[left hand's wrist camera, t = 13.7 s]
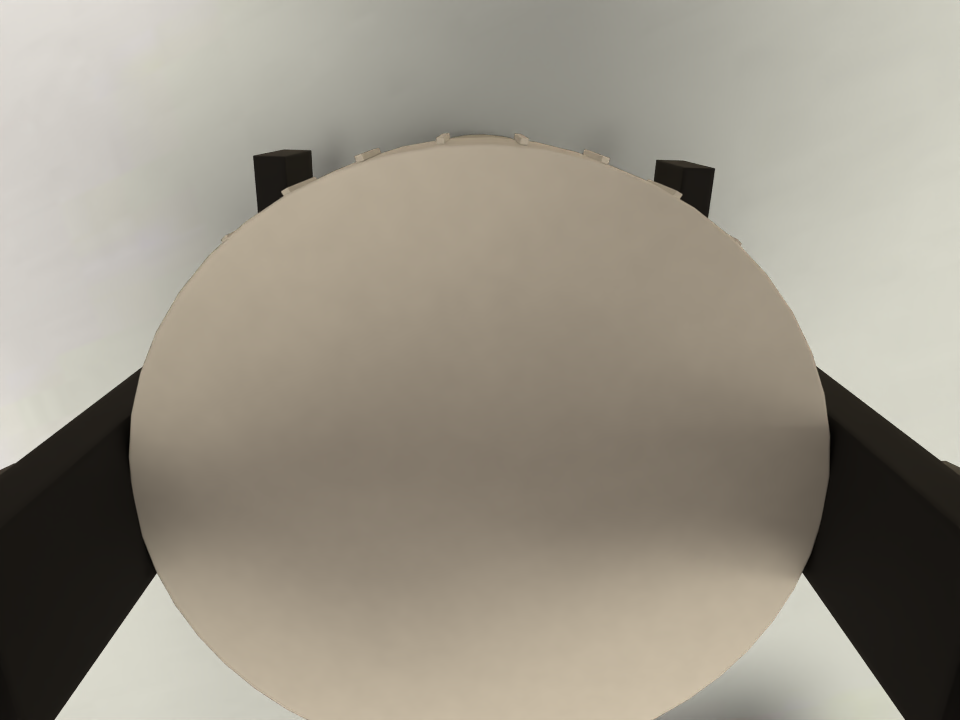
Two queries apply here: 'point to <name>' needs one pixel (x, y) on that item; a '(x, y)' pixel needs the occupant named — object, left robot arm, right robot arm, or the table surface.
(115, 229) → the table surface
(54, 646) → the left robot arm
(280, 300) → the lid
